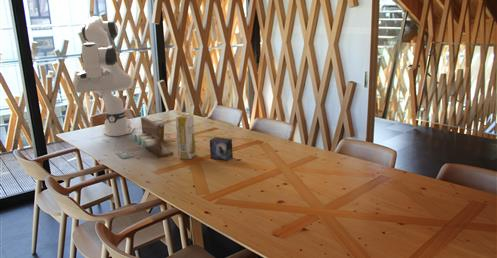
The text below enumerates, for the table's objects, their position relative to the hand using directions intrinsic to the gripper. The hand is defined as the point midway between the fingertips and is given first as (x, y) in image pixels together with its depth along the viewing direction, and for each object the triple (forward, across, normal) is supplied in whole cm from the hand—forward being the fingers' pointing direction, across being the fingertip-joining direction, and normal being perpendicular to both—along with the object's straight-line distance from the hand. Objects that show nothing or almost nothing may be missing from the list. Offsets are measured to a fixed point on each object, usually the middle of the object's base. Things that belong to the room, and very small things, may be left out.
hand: (96, 98), depth 230 cm
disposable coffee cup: (+31, -34, -2) cm, 46 cm away
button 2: (+25, -19, +24) cm, 40 cm away
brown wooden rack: (+31, -26, +17) cm, 44 cm away
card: (+31, -8, +12) cm, 34 cm away
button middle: (+25, -19, +17) cm, 36 cm away
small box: (+31, -48, +50) cm, 76 cm away
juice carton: (+31, -34, +37) cm, 59 cm away
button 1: (+25, -19, +10) cm, 33 cm away
